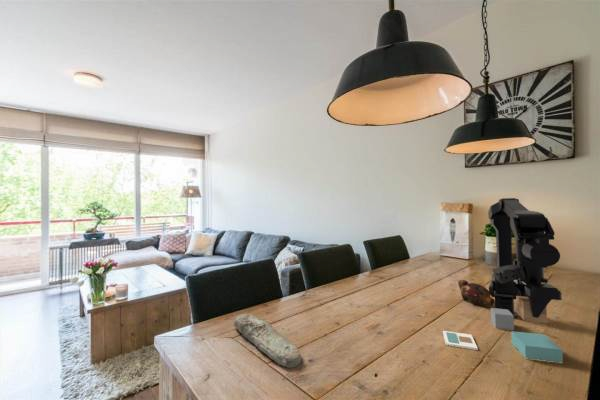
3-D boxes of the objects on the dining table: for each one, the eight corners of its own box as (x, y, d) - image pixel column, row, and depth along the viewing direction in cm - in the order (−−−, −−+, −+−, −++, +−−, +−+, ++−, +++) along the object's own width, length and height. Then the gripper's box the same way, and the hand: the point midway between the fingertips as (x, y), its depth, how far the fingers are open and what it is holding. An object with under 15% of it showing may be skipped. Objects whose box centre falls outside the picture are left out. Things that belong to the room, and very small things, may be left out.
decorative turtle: (465, 294, 119) (466, 276, 118) (501, 309, 105) (502, 289, 104) (449, 296, 115) (450, 278, 115) (484, 312, 101) (486, 292, 101)
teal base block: (511, 344, 79) (511, 331, 79) (544, 348, 76) (544, 334, 76) (525, 360, 71) (525, 345, 71) (562, 365, 69) (562, 349, 69)
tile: (442, 332, 86) (442, 330, 86) (471, 336, 83) (471, 334, 83) (446, 345, 79) (446, 342, 79) (477, 350, 76) (477, 347, 76)
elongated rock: (280, 381, 68) (310, 367, 74) (281, 360, 67) (311, 348, 74) (226, 325, 95) (251, 318, 101) (227, 310, 95) (251, 304, 101)
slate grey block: (491, 322, 92) (490, 307, 92) (508, 324, 91) (508, 309, 91) (495, 328, 88) (495, 313, 88) (514, 331, 86) (513, 315, 86)
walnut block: (516, 312, 78) (516, 295, 78) (538, 315, 76) (537, 297, 76) (523, 320, 73) (523, 302, 73) (546, 322, 71) (546, 304, 71)
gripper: (486, 250, 86) (487, 298, 86) (506, 263, 69) (507, 323, 69) (529, 251, 82) (530, 302, 82) (561, 266, 64) (563, 330, 64)
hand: (531, 313), depth 74 cm, fingers closed on walnut block, 5 cm apart
